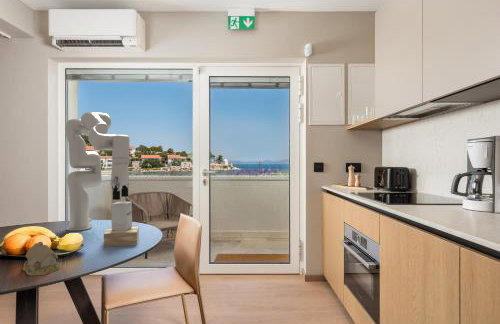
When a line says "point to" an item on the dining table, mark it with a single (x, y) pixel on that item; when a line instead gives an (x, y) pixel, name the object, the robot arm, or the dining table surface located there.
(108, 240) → the maple riser block
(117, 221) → the supplement box
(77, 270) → the dining table surface
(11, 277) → the dining table surface
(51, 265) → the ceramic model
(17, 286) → the dining table surface
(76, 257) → the dining table surface
